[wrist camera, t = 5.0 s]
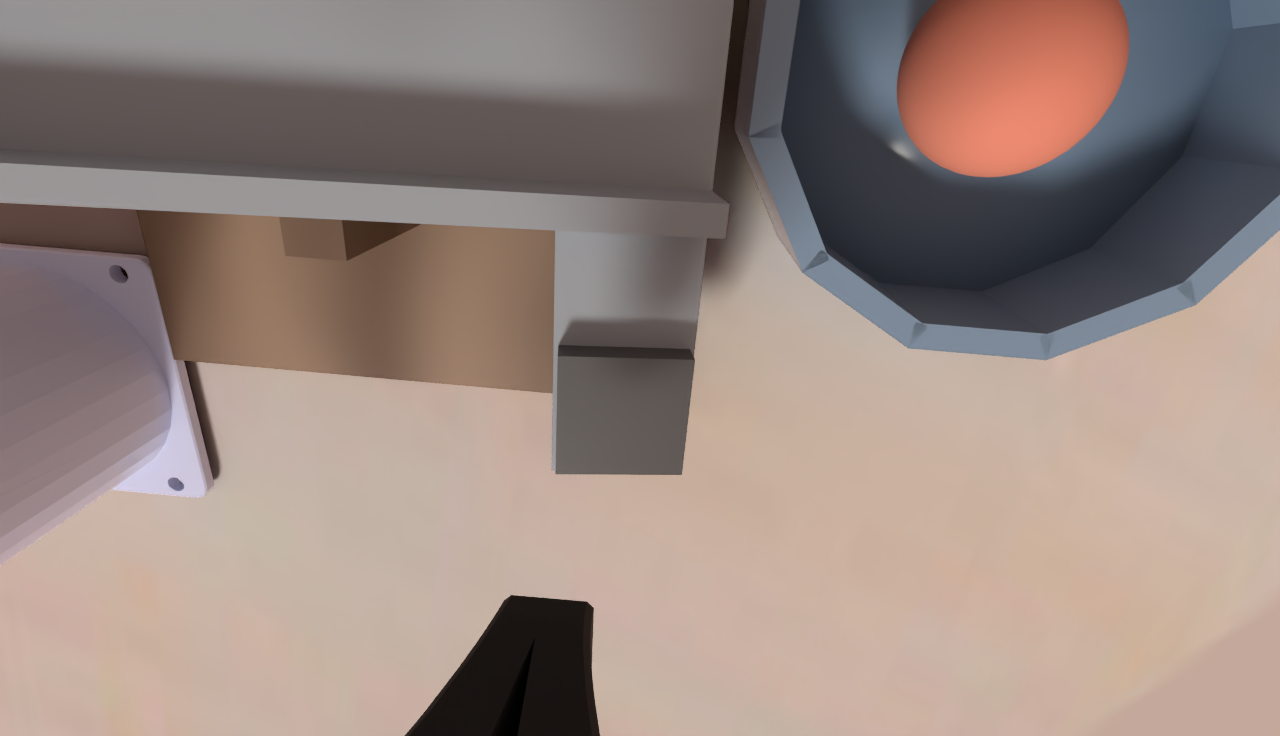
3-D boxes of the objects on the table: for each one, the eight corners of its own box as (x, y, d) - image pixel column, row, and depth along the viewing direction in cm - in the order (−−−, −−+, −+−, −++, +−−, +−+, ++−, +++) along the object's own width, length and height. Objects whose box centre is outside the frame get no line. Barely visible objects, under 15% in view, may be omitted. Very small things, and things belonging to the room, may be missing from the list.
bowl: (714, 287, 17) (723, 332, 14) (779, -245, 13) (814, -365, 9) (1128, 321, 17) (1236, 376, 14) (1344, -210, 12) (1584, -321, 9)
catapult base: (188, 351, 19) (20, 439, 14) (-24, -533, 12) (-520, -976, 7) (680, 395, 19) (681, 501, 14) (776, -492, 11) (848, -932, 6)
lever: (-1, 446, 14) (-105, 510, 12) (-293, -286, 9) (-560, -401, 7) (675, 452, 15) (691, 510, 13) (741, -157, 11) (782, -217, 8)
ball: (1118, 189, 13) (942, 164, 16) (1201, -37, 11) (988, -17, 14) (1024, 193, 11) (839, 164, 14) (1109, -83, 9) (881, -49, 12)
